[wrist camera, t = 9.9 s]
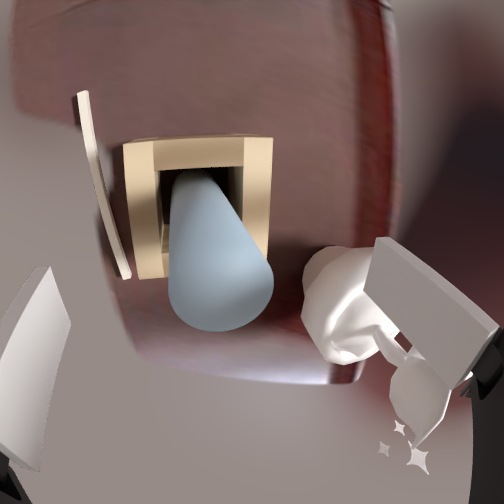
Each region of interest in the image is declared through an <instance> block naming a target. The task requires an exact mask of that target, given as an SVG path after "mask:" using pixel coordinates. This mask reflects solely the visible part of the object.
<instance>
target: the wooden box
mask: <svg viewBox="0 0 504 504" xmlns="http://www.w3.org/2000/svg"><path fill="white" fill-rule="evenodd" d="M272 149H273V138H271V137H265V136H260V135H254V134H198V135H178V136H164V137H152V138H142V139H135V140H132V141H130V142H127V143H125V144H123V153H124V169H125V182H126V193H127V202H128V211H129V219H130V227H131V234H132V241H133V247H134V254H135V260H136V265H137V271H138V276H139V279H150V278H161V277H168V271H169V231H170V224H165V225H164V222H163V210H162V197H161V180H160V170H172V169H186V168H204V167H228V201H229V203H230V205H231V206H232V208H233V209H234V211H235V212H236V214H237V215H238V217H239V218H240V220H241V222H242V223H243V225H244V226H245V228H246V229H247V231H248V232H249V234H250V235H251V237H252V239H253V240H254V242H255V243H256V245H257V246H258V248H259V249H260V251H261V253H262V254H263V256H264V257H265V259H266V260H267V246H268V229H269V211H270V191H271V171H272Z"/></svg>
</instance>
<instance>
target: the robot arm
mask: <svg viewBox="0 0 504 504" xmlns="http://www.w3.org/2000/svg"><path fill="white" fill-rule="evenodd" d="M363 291H364V292H365V293H366V294H367V295H368V296H369V297H370V299H371V300H372V301H373V302H374V303H375V304H376V305H377V306H378V307H379V308H380V309H381V310H382V311H383V313H384V314H385V315H386V316H387V317H388V318H389V319H390V320H391V321H392V322H393V323H394V325H395V326H396V327H397V328H398V329H399V330H400V331H401V332H402V333H403V335H404V336H405V337H406V338H407V339H408V340H409V341H410V342H411V344H412V345H413V346H414V347H415V348H416V349H417V351H418V352H419V353H420V354H421V355H422V356H423V358H424V359H425V360H426V361H427V362H428V363H429V365H430V366H431V367H432V368H433V369H434V371H435V372H436V373H437V374H438V375H439V377H440V378H441V379H442V380H443V381H444V383H445V384H446V385H447V386H448V388H449V389H450V390H453V389H454V388H455V387H457V386H458V385H460V384H461V383H462V382H463V381H464V380H465V378H466V377H467V376H468V374H469V373H470V372H472V373H473V374H474V375H473V376H472V377H471V379H470V380H469V381H468V383H467V384H466V385H465V386H464V388H463V389H462V391H461V393H460V396H463V395H464V394H465V392H466V391H467V390H468V389H470V390H469V391H468V392H467V394H466V396H465V397H468V398H472V414H473V466H472V479H471V490H470V497H469V504H504V329H503V330H502V329H501V328H500V327H499V325H497V323H495V322H494V321H493V320H492V319H491V318H490V317H489V316H488V315H487V314H486V313H485V312H483V311H482V310H481V309H480V308H479V307H478V306H477V305H476V304H474V303H473V302H472V301H471V300H470V299H469V298H467V297H466V296H465V295H464V294H463V293H462V292H460V291H459V290H458V289H457V288H456V287H454V286H453V285H452V284H451V283H450V282H448V281H447V280H446V279H444V278H443V277H442V276H441V275H439V274H438V273H437V272H436V271H434V270H433V269H432V268H431V267H429V266H428V265H427V264H425V263H424V262H423V261H421V260H420V259H419V258H417V257H416V256H415V255H413V254H412V253H411V252H409V251H408V250H407V249H405V248H404V247H402V246H401V245H400V244H398V243H397V242H395V241H394V240H393V239H391V238H390V237H380V238H376V241H375V246H374V250H373V254H372V258H371V262H370V266H369V270H368V274H367V277H366V281H365V285H364V288H363ZM70 327H71V322H70V319H69V317H68V314H67V312H66V309H65V307H64V304H63V302H62V299H61V296H60V294H59V291H58V288H57V285H56V282H55V279H54V276H53V273H52V270H51V267H50V266H47V267H36V268H34V269H33V271H32V272H31V274H30V275H29V277H28V278H27V280H26V281H25V283H24V284H23V286H22V287H21V289H20V290H19V292H18V294H17V295H16V297H15V298H14V300H13V301H12V303H11V305H10V307H9V308H8V310H7V312H6V313H5V315H4V317H3V319H2V320H1V323H0V504H32V503H31V501H30V500H29V498H28V496H27V494H26V493H25V491H24V489H23V488H22V486H21V484H20V482H19V480H18V478H17V476H16V474H15V472H14V471H13V470H12V468H11V467H10V466H9V464H8V463H9V459H10V460H11V461H13V462H14V463H16V464H17V465H18V466H20V467H21V468H25V469H29V470H32V471H36V472H40V464H41V454H42V446H43V439H44V432H45V425H46V420H47V414H48V409H49V404H50V399H51V394H52V390H53V386H54V382H55V378H56V374H57V370H58V366H59V363H60V359H61V356H62V352H63V349H64V345H65V342H66V339H67V336H68V333H69V330H70Z"/></svg>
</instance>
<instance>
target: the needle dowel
mask: <svg viewBox="0 0 504 504" xmlns="http://www.w3.org/2000/svg"><path fill="white" fill-rule="evenodd" d="M273 287H274V278H273V273H272V270H271V267H270V265H269V263H268V262H267V260H266V259H265V257H264V256H263V254H262V253H261V251H260V249H259V248H258V246H257V245H256V243H255V242H254V240H253V239H252V237H251V235H250V234H249V232H248V231H247V229H246V228H245V226H244V225H243V223H242V222H241V220H240V218H239V217H238V215H237V214H236V212H235V211H234V209H233V208H232V206H231V205H230V203H229V201H228V200H227V198H226V197H225V195H224V194H223V192H222V191H221V189H220V188H219V186H218V185H217V183H216V181H215V180H214V178H213V177H212V176H211V175H210V174H209V173H208V172H207V171H205V170H203V169H199V168H191V169H187V170H185V171H183V172H181V173H180V174H179V175H178V176H177V177H176V179H175V180H174V182H173V185H172V195H171V211H170V231H169V271H168V292H169V300H170V303H171V306H172V308H173V310H174V311H175V313H176V314H177V315H178V317H179V318H180V319H181V320H183V321H184V322H185V323H187V324H188V325H190V326H192V327H194V328H197V329H199V330H204V331H210V332H223V331H229V330H233V329H236V328H239V327H241V326H244V325H246V324H247V323H249V322H251V321H252V320H254V319H255V318H256V317H257V316H258V315H259V314H260V313H261V312H262V311H263V310H264V309H265V307H266V306H267V304H268V303H269V301H270V298H271V296H272V292H273Z"/></svg>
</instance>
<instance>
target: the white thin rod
mask: <svg viewBox="0 0 504 504" xmlns="http://www.w3.org/2000/svg"><path fill="white" fill-rule="evenodd" d="M77 97H78V105H79V112H80V119H81V125H82V131H83V137H84V142H85V148H86V153H87V158H88V163H89V167H90V172H91V176H92V180H93V184H94V188H95V192H96V196H97V200H98V204H99V207H100V211H101V214H102V218H103V221H104V225H105V228H106V231H107V234H108V237H109V241H110V244H111V247H112V250H113V253H114V255H115V258H116V261H117V264H118V267H119V270H120V272H121V275H122V278H123V280H125V279H129V278H131V271H130V268H129V265H128V262H127V259H126V256H125V253H124V250H123V247H122V244H121V241H120V238H119V234H118V231H117V228H116V224H115V221H114V217H113V214H112V210H111V207H110V203H109V199H108V195H107V191H106V187H105V183H104V179H103V174H102V170H101V165H100V161H99V156H98V151H97V146H96V140H95V135H94V129H93V123H92V116H91V109H90V102H89V94H88V91H86V90H85V91H82V92H79V93H77Z"/></svg>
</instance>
